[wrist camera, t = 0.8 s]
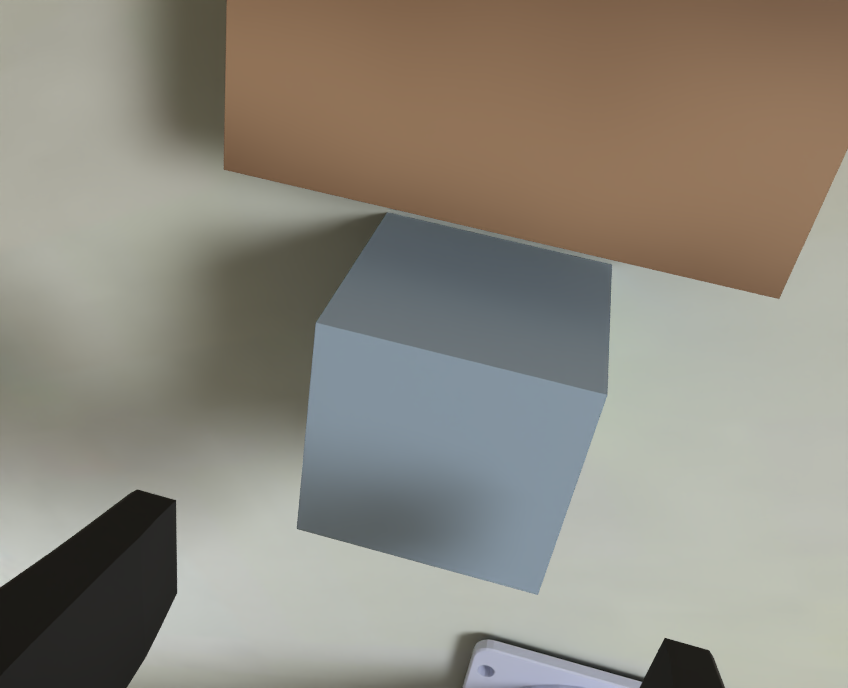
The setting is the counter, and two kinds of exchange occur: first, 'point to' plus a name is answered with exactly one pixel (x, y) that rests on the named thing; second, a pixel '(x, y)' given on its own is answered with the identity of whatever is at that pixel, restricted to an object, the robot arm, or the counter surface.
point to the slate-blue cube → (455, 399)
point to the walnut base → (557, 119)
